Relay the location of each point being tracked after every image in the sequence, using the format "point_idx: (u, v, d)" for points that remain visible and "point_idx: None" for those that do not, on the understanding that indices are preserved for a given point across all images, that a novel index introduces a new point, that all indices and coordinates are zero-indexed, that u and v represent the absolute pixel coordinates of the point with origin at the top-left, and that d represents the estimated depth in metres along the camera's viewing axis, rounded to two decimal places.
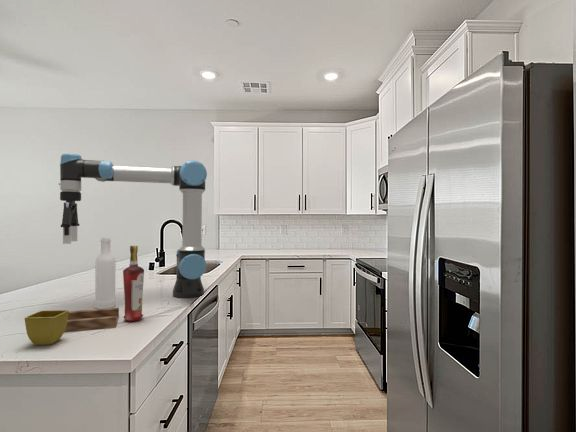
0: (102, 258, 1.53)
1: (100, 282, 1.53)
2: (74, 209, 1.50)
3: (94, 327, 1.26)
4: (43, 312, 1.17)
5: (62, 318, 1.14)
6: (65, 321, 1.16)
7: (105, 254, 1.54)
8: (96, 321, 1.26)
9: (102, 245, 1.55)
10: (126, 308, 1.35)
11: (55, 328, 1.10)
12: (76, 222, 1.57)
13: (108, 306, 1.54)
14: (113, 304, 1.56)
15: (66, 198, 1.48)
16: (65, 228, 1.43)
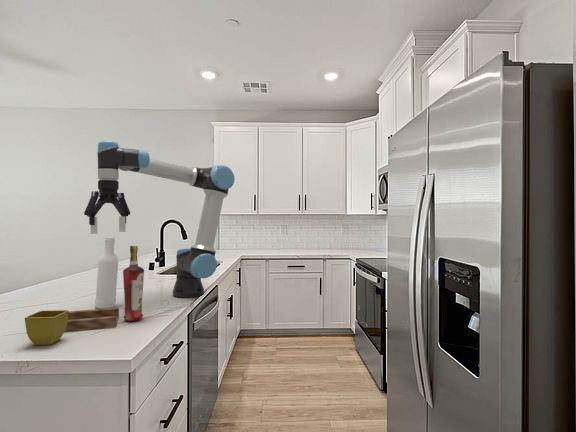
0: (105, 258, 1.53)
1: (101, 281, 1.52)
2: (107, 198, 1.44)
3: (94, 327, 1.26)
4: (43, 312, 1.17)
5: (62, 318, 1.14)
6: (65, 321, 1.16)
7: (108, 254, 1.54)
8: (96, 321, 1.26)
9: (106, 245, 1.54)
10: (126, 308, 1.35)
11: (55, 328, 1.10)
12: (123, 212, 1.52)
13: (108, 306, 1.54)
14: (113, 304, 1.56)
15: (99, 187, 1.44)
16: (89, 217, 1.39)
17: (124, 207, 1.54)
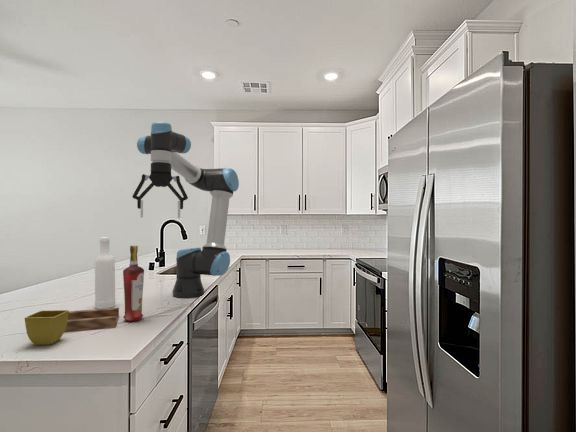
0: (101, 258, 1.53)
1: (99, 281, 1.53)
2: (155, 181, 1.39)
3: (94, 327, 1.26)
4: (43, 312, 1.17)
5: (62, 318, 1.14)
6: (65, 321, 1.16)
7: (104, 254, 1.54)
8: (96, 321, 1.26)
9: (101, 245, 1.55)
10: (126, 308, 1.35)
11: (55, 328, 1.10)
12: (177, 196, 1.42)
13: (108, 306, 1.54)
14: (113, 304, 1.56)
15: None
16: None
17: (181, 191, 1.43)
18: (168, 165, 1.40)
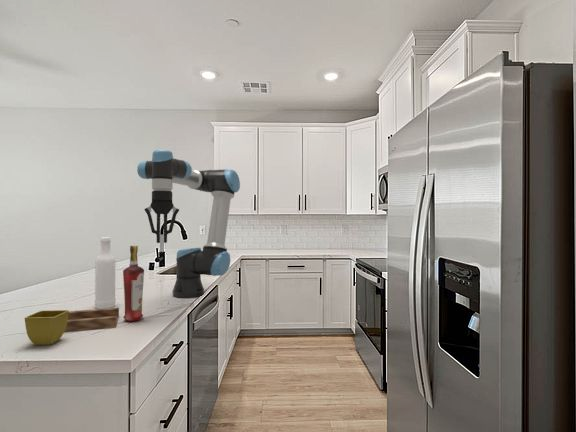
0: (102, 258, 1.53)
1: (99, 282, 1.53)
2: (159, 210, 1.39)
3: (94, 327, 1.26)
4: (43, 312, 1.17)
5: (62, 318, 1.14)
6: (65, 321, 1.16)
7: (105, 254, 1.54)
8: (96, 321, 1.26)
9: (102, 245, 1.55)
10: (126, 308, 1.35)
11: (55, 328, 1.10)
12: None
13: (108, 306, 1.54)
14: (113, 304, 1.56)
15: None
16: None
17: (170, 223, 1.42)
18: (169, 193, 1.39)
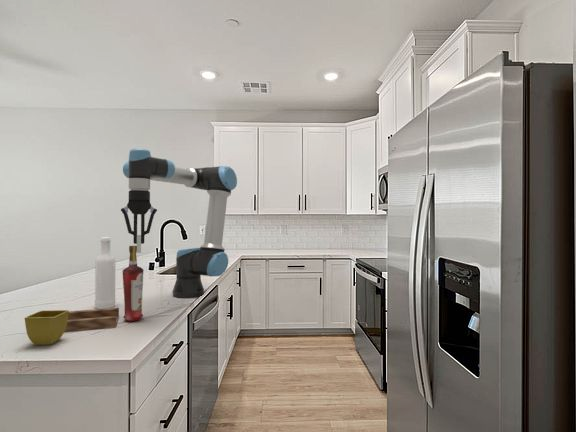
0: (102, 258, 1.53)
1: (99, 282, 1.53)
2: (136, 210, 1.36)
3: (94, 327, 1.26)
4: (43, 312, 1.17)
5: (62, 318, 1.14)
6: (65, 321, 1.16)
7: (105, 254, 1.54)
8: (96, 321, 1.26)
9: (102, 245, 1.55)
10: (126, 308, 1.35)
11: (55, 328, 1.10)
12: (141, 229, 1.37)
13: (108, 306, 1.54)
14: (113, 304, 1.56)
15: None
16: None
17: (148, 223, 1.39)
18: (146, 193, 1.36)
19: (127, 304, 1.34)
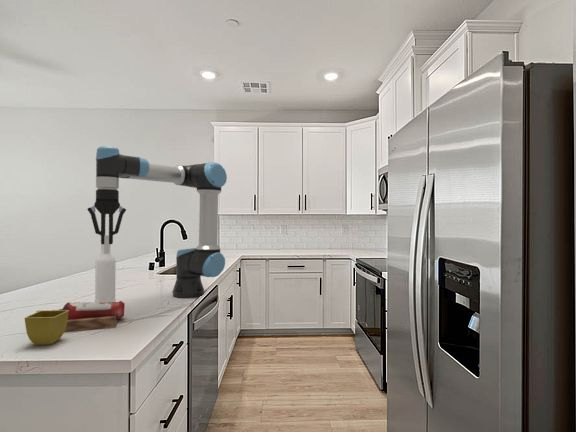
0: (102, 258, 1.53)
1: (100, 282, 1.53)
2: (103, 210, 1.32)
3: (94, 327, 1.26)
4: (43, 312, 1.17)
5: (62, 318, 1.14)
6: (65, 321, 1.16)
7: (105, 254, 1.54)
8: (96, 321, 1.26)
9: (102, 245, 1.55)
10: (108, 315, 1.33)
11: (55, 328, 1.10)
12: None
13: None
14: None
15: None
16: (101, 236, 1.34)
17: None
18: (114, 192, 1.33)
19: (104, 313, 1.33)
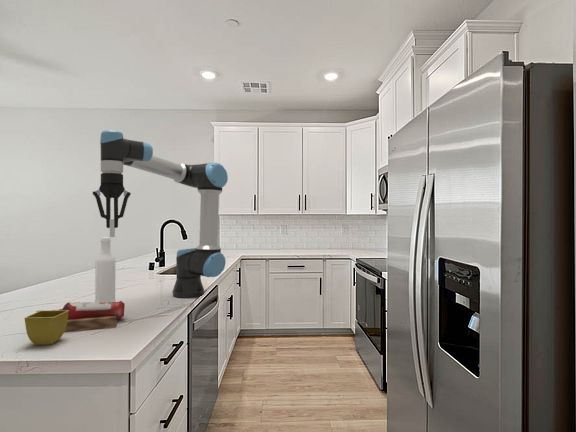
0: (102, 258, 1.53)
1: (99, 282, 1.53)
2: (108, 193, 1.33)
3: (94, 327, 1.26)
4: (43, 312, 1.17)
5: (62, 318, 1.14)
6: (65, 321, 1.16)
7: (105, 254, 1.54)
8: (96, 321, 1.26)
9: (102, 245, 1.55)
10: (108, 315, 1.33)
11: (55, 328, 1.10)
12: (114, 212, 1.34)
13: None
14: None
15: None
16: None
17: None
18: (119, 176, 1.33)
19: (104, 313, 1.33)
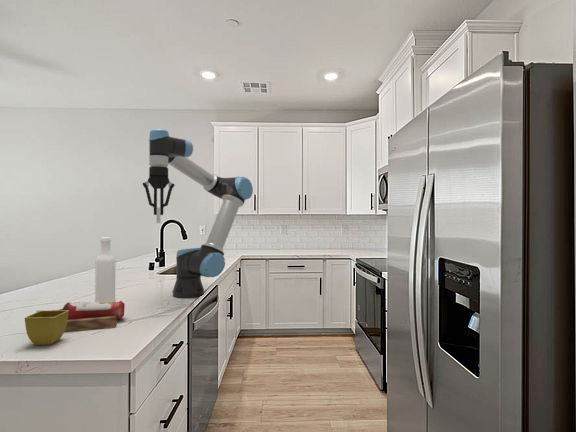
0: (102, 258, 1.53)
1: (99, 282, 1.53)
2: (156, 184, 1.51)
3: (94, 327, 1.26)
4: (43, 312, 1.17)
5: (62, 318, 1.14)
6: (65, 321, 1.16)
7: (105, 254, 1.54)
8: (96, 321, 1.26)
9: (102, 245, 1.55)
10: (108, 315, 1.33)
11: (55, 328, 1.10)
12: (160, 201, 1.52)
13: None
14: None
15: None
16: None
17: None
18: (165, 169, 1.51)
19: (104, 313, 1.33)
